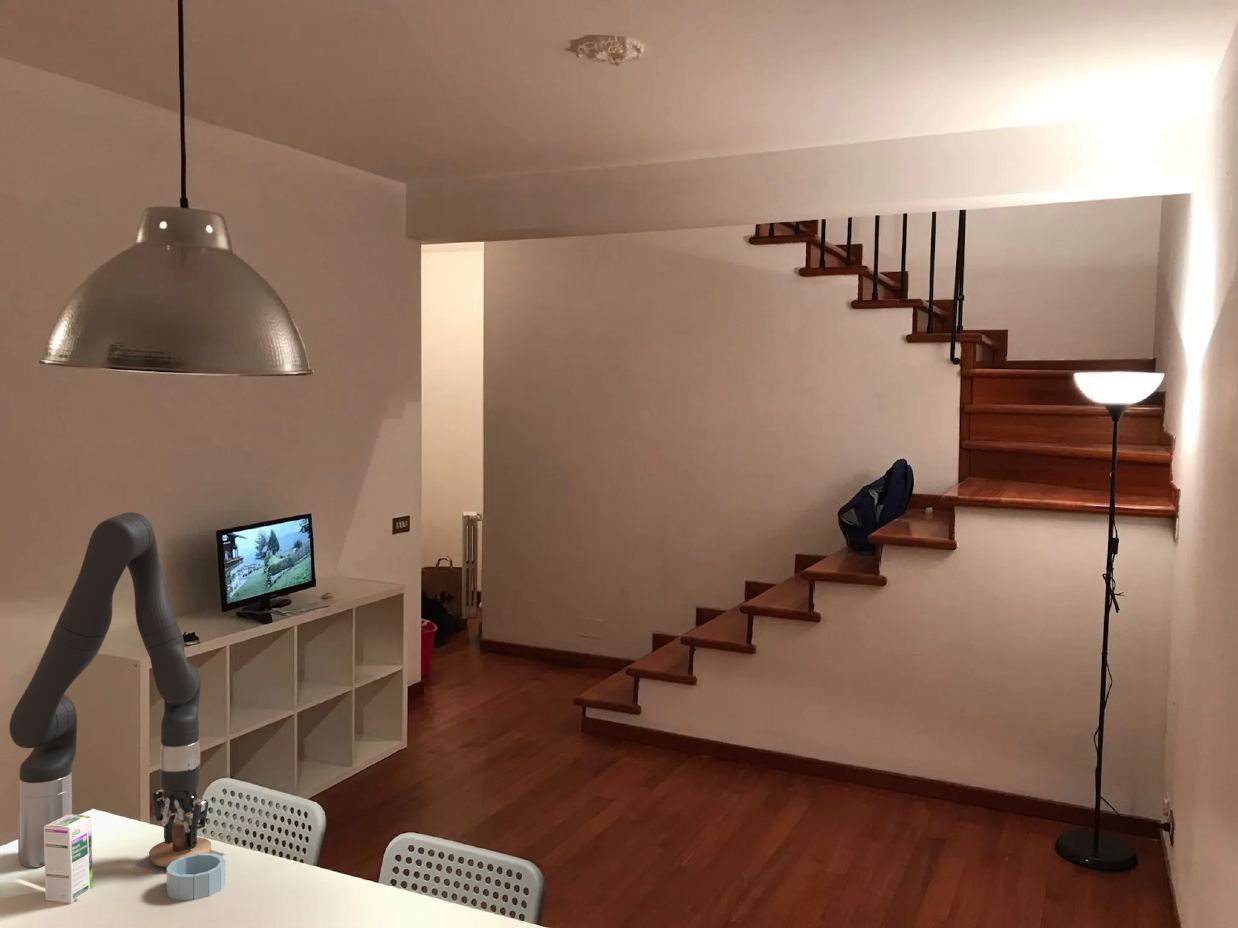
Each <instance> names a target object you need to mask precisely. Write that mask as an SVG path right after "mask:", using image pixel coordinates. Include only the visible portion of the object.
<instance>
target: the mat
mask: <svg viewBox="0 0 1238 928" xmlns="http://www.w3.org/2000/svg"><path fill="white" fill-rule="evenodd" d="M210 853H214V854H217V855H220V856H223V857H224V856H225V854H226V853H223V852H219V851H216V850H212V849H211V852H210ZM134 865H135V866H139V867H142V868H145V869H148V870H151V871H153V872H157V873H160V874H164V875H167V867H163V866H157V865H154V864H152V863H151V862H150V861H149V857H148V858H145V859H143V860H141V861H138V862H136V863H134Z"/></svg>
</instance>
